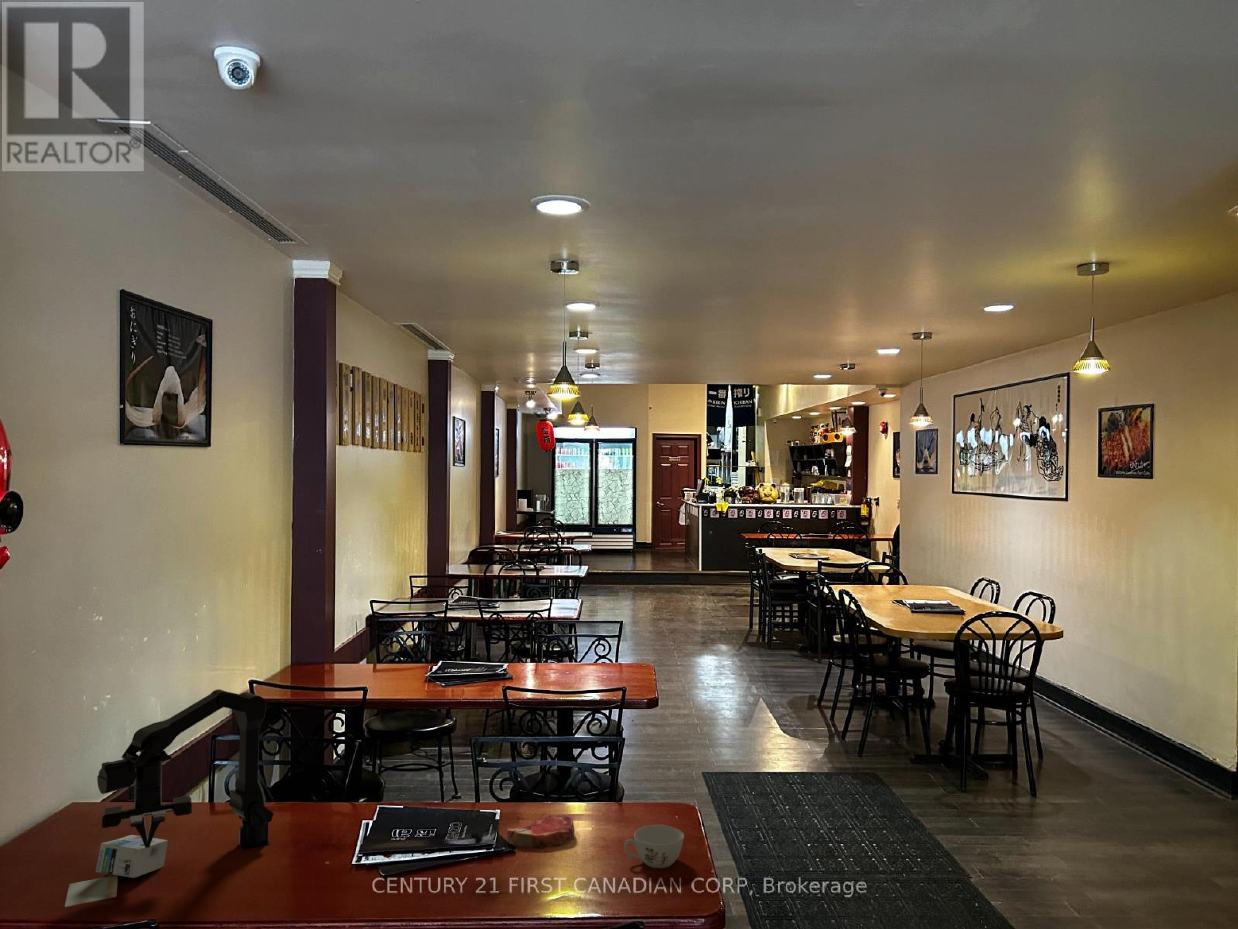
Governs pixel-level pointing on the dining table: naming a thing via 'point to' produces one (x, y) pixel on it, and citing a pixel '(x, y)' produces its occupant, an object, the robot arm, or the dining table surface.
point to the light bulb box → (131, 856)
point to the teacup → (656, 845)
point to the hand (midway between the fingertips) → (147, 847)
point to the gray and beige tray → (92, 890)
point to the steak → (543, 832)
